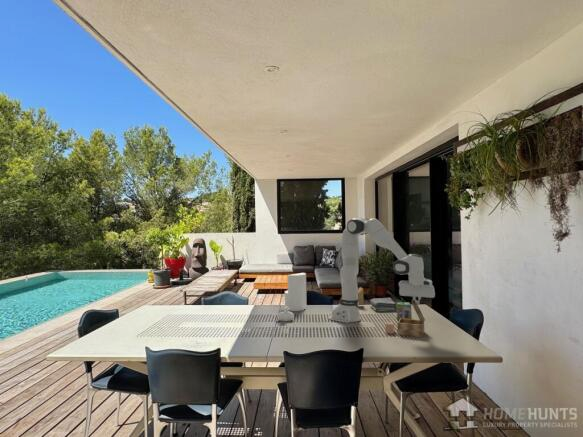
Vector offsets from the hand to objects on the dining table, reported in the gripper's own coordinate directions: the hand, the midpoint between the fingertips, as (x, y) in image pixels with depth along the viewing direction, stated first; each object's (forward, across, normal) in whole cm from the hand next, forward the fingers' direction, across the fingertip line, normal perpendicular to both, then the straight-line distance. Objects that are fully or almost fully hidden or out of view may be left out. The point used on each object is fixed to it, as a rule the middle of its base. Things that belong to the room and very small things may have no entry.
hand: (417, 304), depth 205 cm
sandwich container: (+18, -56, +54) cm, 79 cm away
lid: (+11, +3, 0) cm, 11 cm away
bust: (+17, -86, -7) cm, 88 cm away
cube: (+18, -16, -3) cm, 24 cm away
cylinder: (+17, -95, +28) cm, 100 cm away
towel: (+18, -31, +54) cm, 65 cm away
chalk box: (+18, -12, +28) cm, 35 cm away
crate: (+18, -4, 0) cm, 18 cm away
